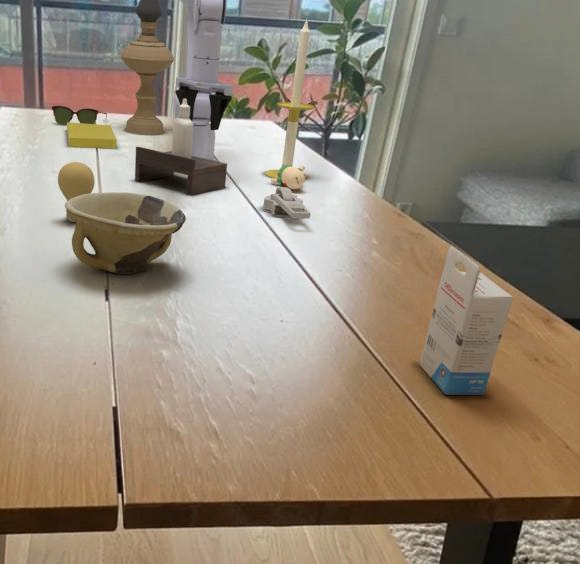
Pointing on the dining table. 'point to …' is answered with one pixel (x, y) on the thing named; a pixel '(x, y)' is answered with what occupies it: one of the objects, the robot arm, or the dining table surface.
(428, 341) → the ink box
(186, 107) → the eye dropper bottle
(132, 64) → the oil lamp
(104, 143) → the flat olive board
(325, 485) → the dining table surface
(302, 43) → the candle
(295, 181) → the toy figurine
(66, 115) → the sunglasses
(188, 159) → the shelf
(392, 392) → the dining table surface
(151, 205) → the bowl
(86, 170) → the light bulb
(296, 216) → the zipper pull
